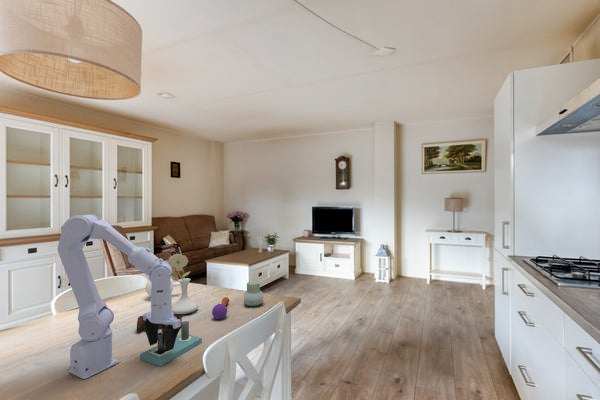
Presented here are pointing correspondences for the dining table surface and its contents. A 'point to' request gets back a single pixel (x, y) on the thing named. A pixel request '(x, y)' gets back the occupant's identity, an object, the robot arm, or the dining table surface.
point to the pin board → (180, 347)
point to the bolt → (140, 320)
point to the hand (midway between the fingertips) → (161, 346)
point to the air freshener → (253, 294)
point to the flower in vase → (182, 287)
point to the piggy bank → (148, 286)
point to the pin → (161, 343)
